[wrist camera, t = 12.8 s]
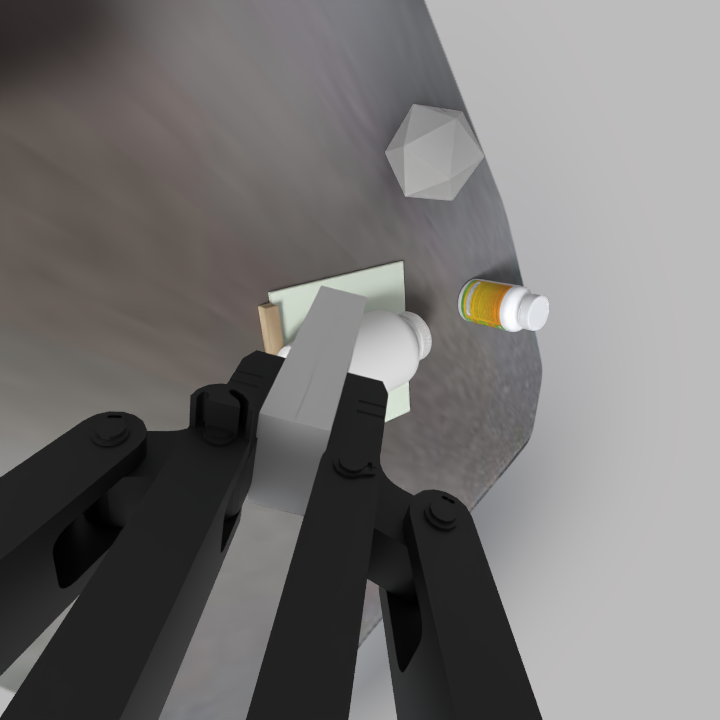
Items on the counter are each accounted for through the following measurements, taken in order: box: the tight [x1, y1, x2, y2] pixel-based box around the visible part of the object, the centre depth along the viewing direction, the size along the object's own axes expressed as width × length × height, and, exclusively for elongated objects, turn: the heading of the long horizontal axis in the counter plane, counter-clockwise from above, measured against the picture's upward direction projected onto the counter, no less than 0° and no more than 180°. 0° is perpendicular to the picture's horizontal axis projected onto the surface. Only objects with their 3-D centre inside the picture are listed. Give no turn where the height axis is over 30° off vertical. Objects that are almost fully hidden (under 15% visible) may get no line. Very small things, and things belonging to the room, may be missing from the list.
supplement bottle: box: [458, 279, 549, 332], centre depth 59 cm, size 5×5×10 cm
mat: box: [268, 261, 410, 422], centre depth 53 cm, size 16×18×1 cm
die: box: [385, 104, 484, 201], centre depth 48 cm, size 8×9×10 cm
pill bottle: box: [277, 310, 432, 393], centre depth 48 cm, size 8×8×15 cm
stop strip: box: [258, 303, 284, 356], centre depth 48 cm, size 1×16×2 cm, turn 6°
